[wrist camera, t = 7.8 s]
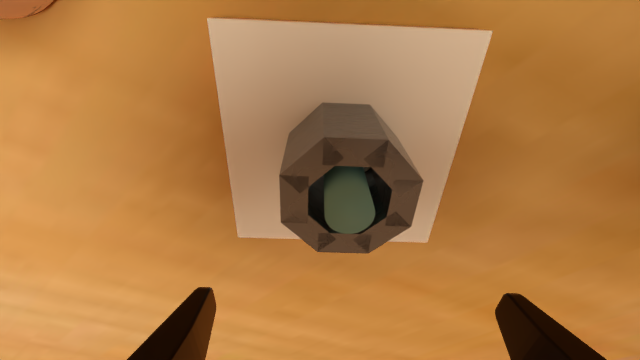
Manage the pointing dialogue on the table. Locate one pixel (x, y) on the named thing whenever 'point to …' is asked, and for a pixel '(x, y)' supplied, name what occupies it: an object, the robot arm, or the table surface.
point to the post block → (339, 87)
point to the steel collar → (346, 150)
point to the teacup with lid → (21, 8)
